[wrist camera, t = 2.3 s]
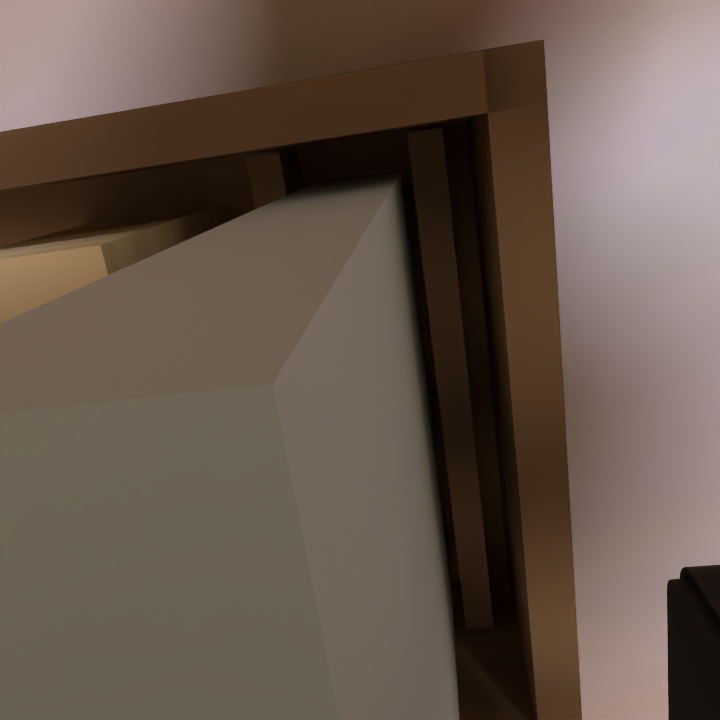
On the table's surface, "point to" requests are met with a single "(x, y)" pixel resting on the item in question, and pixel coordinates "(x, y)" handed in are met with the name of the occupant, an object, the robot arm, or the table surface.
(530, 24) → the table surface
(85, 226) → the tall pine offcut
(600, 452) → the table surface
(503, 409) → the walnut rack
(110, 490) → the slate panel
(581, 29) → the table surface
